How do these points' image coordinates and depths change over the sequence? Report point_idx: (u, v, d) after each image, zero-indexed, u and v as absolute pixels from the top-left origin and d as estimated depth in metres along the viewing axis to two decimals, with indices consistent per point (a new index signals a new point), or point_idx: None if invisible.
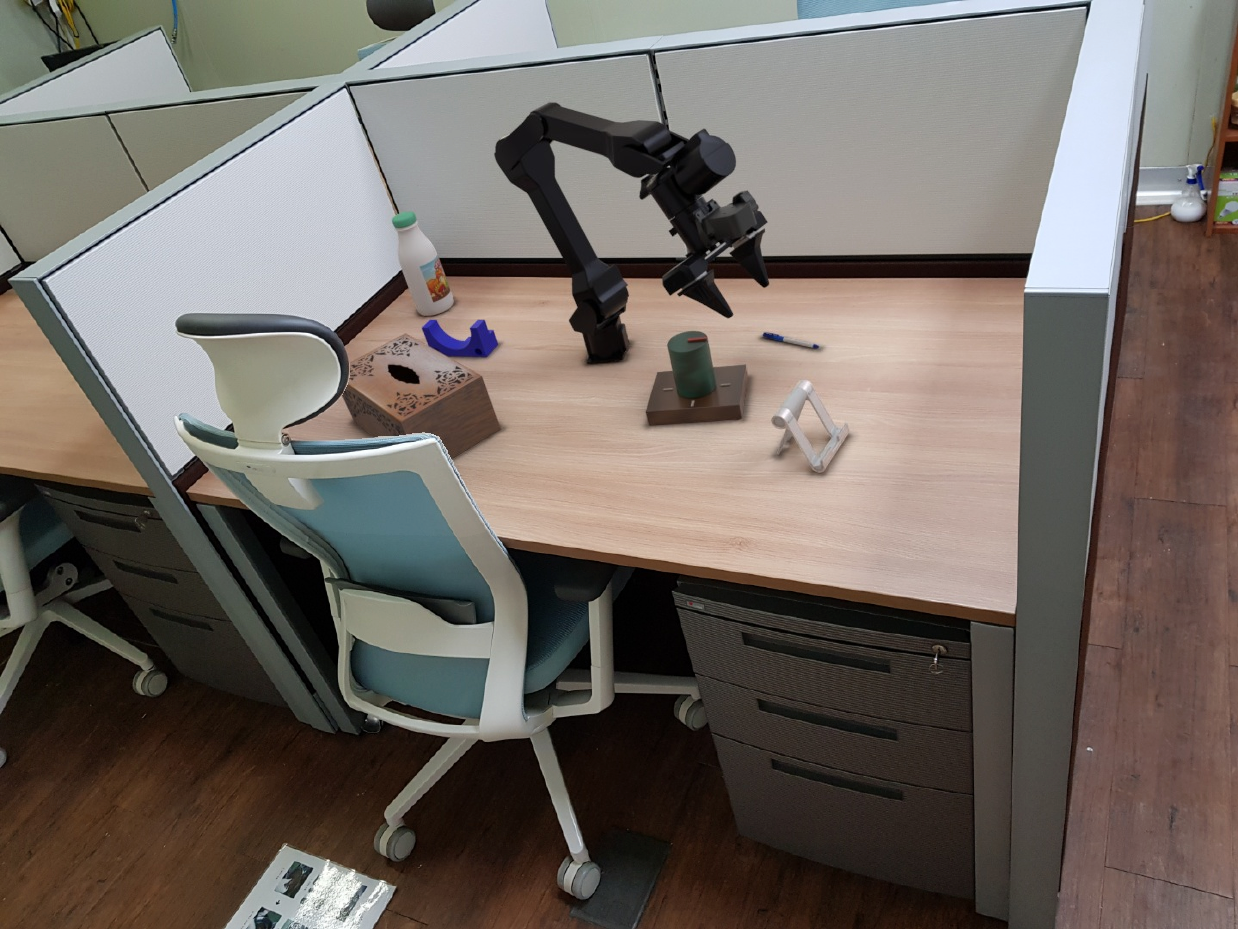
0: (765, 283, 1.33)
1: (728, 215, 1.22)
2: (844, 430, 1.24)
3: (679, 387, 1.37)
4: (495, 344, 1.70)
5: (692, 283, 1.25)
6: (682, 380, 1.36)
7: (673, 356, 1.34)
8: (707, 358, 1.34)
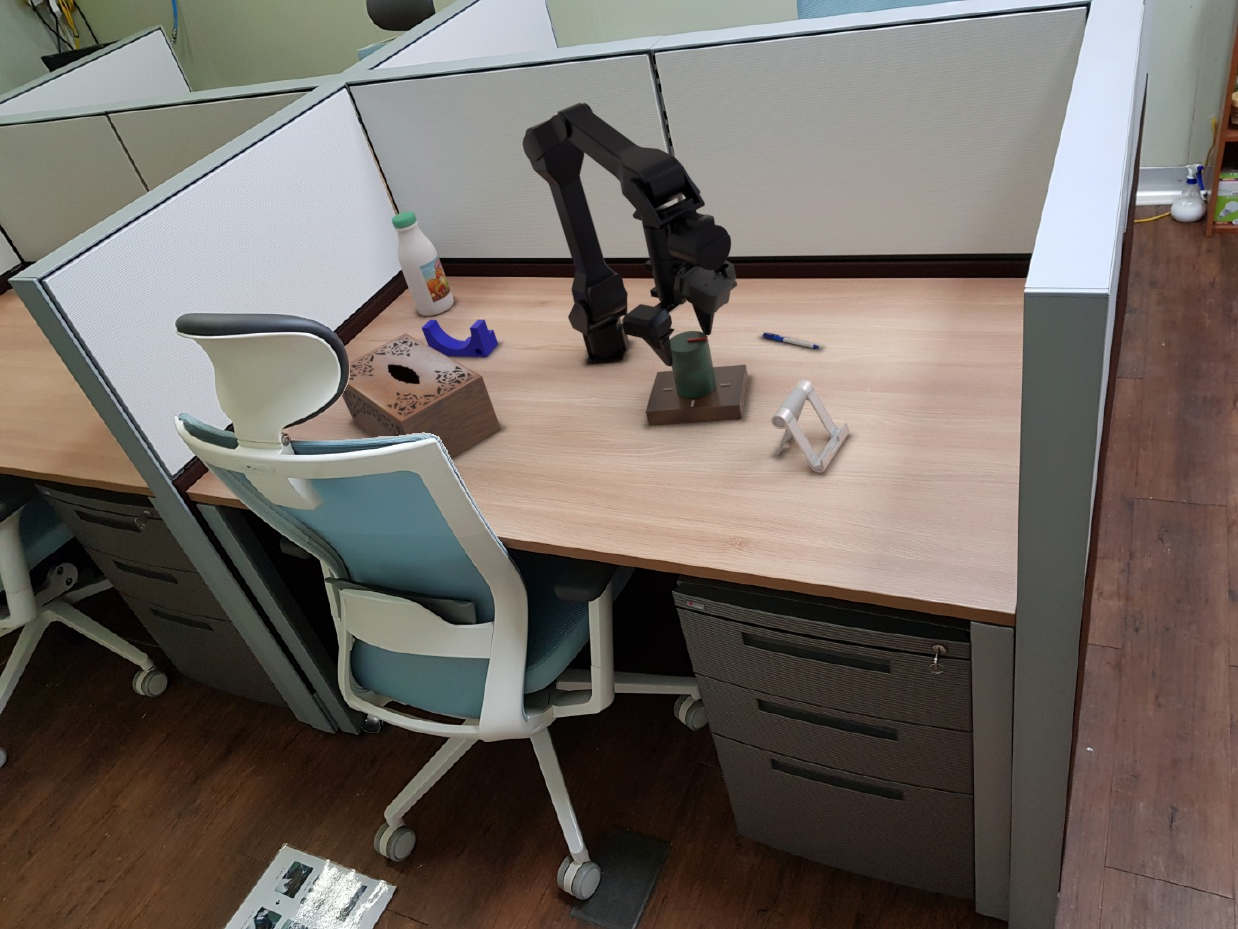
0: (707, 332, 1.37)
1: (709, 293, 1.23)
2: (844, 430, 1.24)
3: (679, 387, 1.37)
4: (495, 344, 1.70)
5: None
6: (682, 380, 1.36)
7: (673, 356, 1.34)
8: (707, 358, 1.34)
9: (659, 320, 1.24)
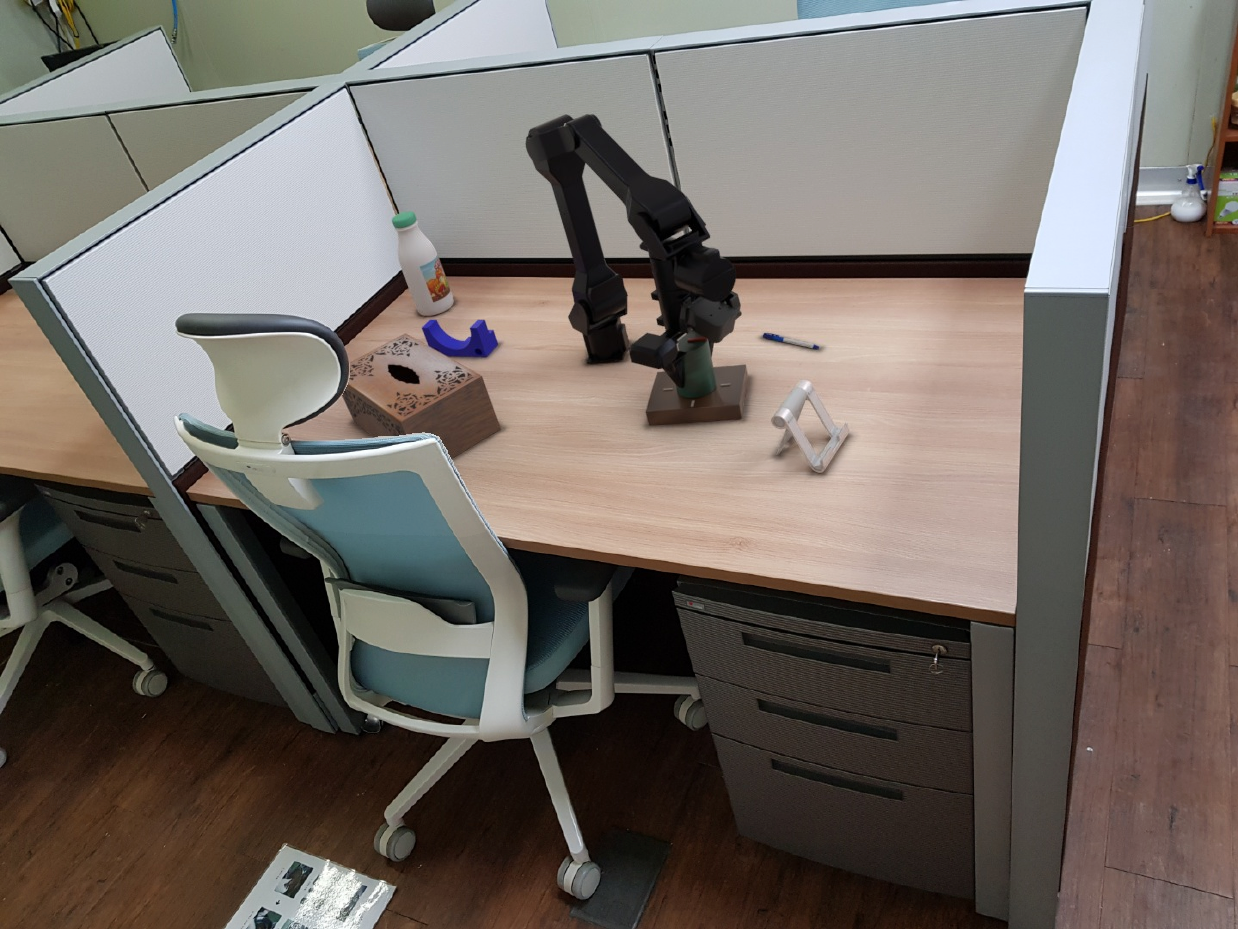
0: None
1: (715, 323, 1.26)
2: (844, 430, 1.24)
3: (679, 387, 1.37)
4: (495, 344, 1.70)
5: None
6: None
7: None
8: (707, 358, 1.34)
9: (665, 349, 1.27)
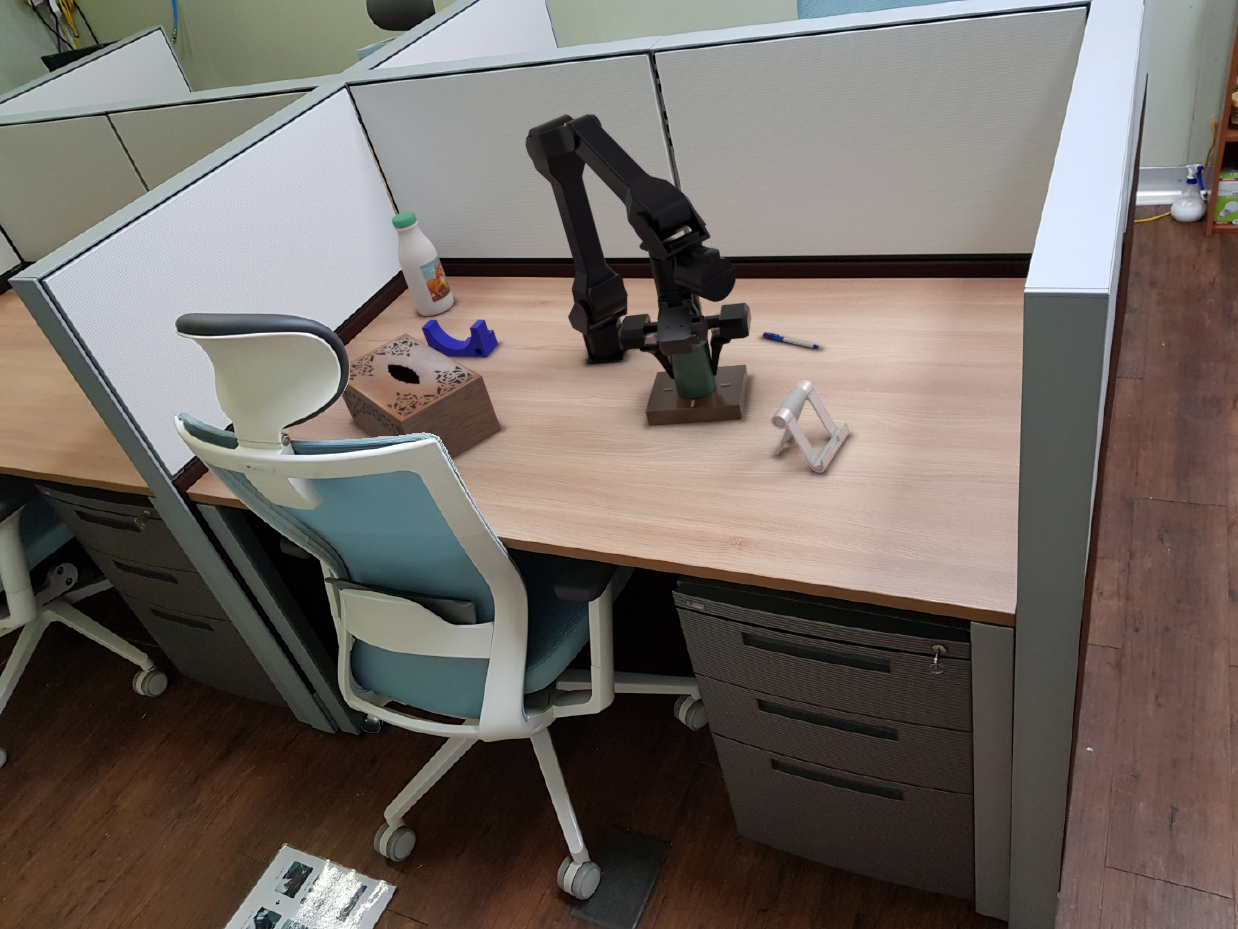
0: (713, 372, 1.37)
1: (659, 336, 1.26)
2: (844, 430, 1.24)
3: None
4: (495, 344, 1.70)
5: None
6: None
7: None
8: (689, 365, 1.34)
9: (629, 335, 1.32)
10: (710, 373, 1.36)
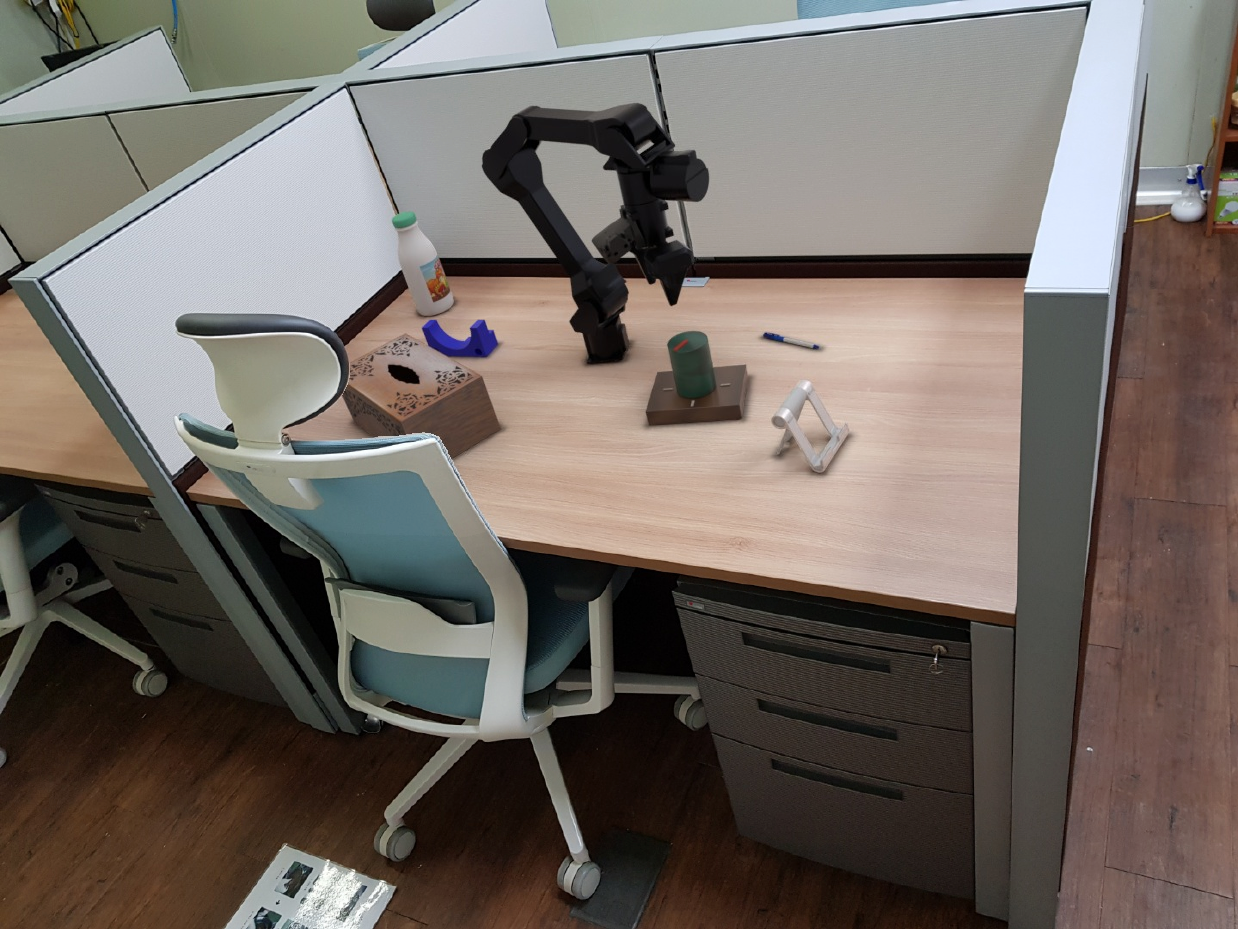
0: None
1: (595, 236, 1.37)
2: (844, 430, 1.24)
3: None
4: (495, 344, 1.70)
5: None
6: None
7: None
8: (671, 362, 1.35)
9: None
10: (693, 382, 1.35)
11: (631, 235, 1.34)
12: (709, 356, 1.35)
